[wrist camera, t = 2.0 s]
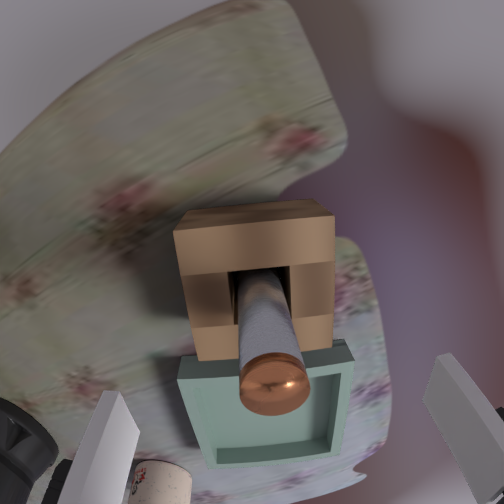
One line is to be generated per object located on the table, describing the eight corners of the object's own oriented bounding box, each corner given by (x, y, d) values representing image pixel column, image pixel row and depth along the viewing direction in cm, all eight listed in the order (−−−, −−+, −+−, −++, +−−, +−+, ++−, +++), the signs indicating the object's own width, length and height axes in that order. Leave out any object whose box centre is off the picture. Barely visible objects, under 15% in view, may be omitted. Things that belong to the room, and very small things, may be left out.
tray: (209, 447, 35) (208, 468, 31) (181, 356, 29) (176, 379, 26) (333, 434, 35) (339, 454, 32) (344, 339, 30) (354, 360, 26)
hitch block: (205, 319, 28) (198, 361, 22) (187, 210, 25) (172, 231, 19) (315, 308, 28) (332, 347, 23) (312, 198, 25) (334, 215, 19)
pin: (239, 281, 27) (243, 418, 13) (235, 247, 26) (235, 371, 12) (274, 277, 27) (309, 411, 13) (272, 244, 26) (311, 362, 12)
